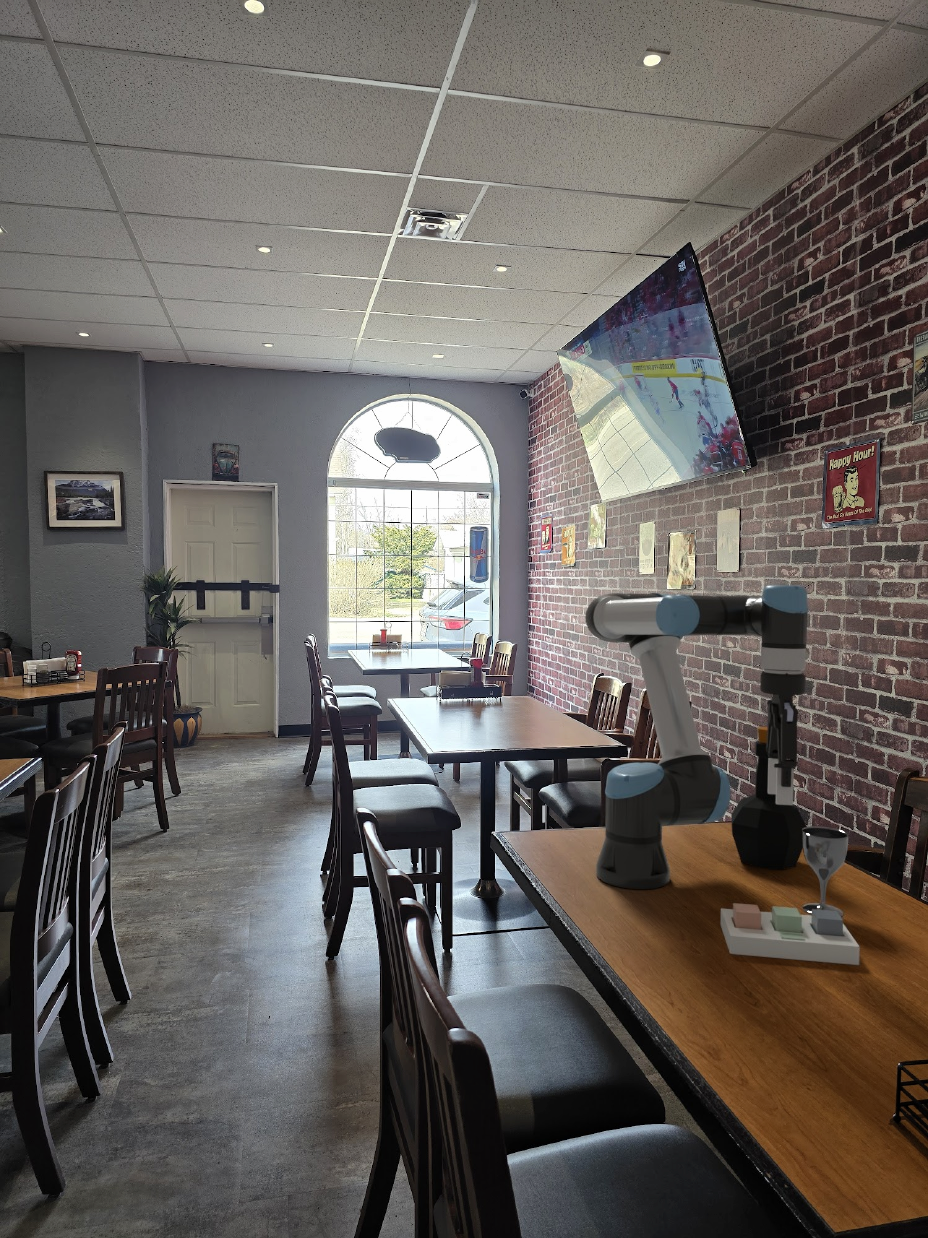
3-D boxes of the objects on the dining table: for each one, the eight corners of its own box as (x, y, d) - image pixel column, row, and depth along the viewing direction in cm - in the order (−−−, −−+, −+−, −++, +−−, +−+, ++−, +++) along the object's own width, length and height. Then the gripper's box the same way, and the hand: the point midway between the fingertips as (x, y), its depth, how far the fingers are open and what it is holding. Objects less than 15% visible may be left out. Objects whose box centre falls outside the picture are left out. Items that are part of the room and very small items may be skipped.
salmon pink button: (736, 930, 138) (736, 912, 138) (732, 921, 142) (733, 903, 142) (760, 932, 138) (761, 914, 138) (756, 923, 142) (757, 905, 142)
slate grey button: (817, 937, 136) (817, 918, 136) (811, 927, 140) (811, 909, 140) (842, 939, 135) (843, 920, 135) (836, 929, 139) (836, 911, 139)
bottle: (741, 845, 194) (744, 720, 193) (814, 859, 184) (817, 727, 183) (719, 863, 181) (721, 728, 180) (796, 879, 171) (800, 737, 170)
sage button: (776, 934, 137) (776, 915, 137) (771, 924, 141) (772, 906, 141) (801, 936, 137) (801, 917, 136) (796, 926, 141) (796, 908, 140)
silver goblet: (845, 907, 156) (847, 829, 155) (845, 922, 149) (848, 841, 148) (800, 900, 159) (802, 824, 159) (799, 914, 152) (801, 835, 152)
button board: (730, 953, 135) (730, 934, 135) (720, 925, 147) (720, 907, 147) (859, 965, 131) (859, 945, 131) (838, 934, 143) (839, 916, 143)
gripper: (819, 677, 135) (815, 815, 136) (793, 667, 154) (789, 787, 155) (771, 676, 136) (768, 812, 137) (751, 666, 156) (748, 785, 157)
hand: (779, 798), depth 146 cm, fingers open, 7 cm apart
